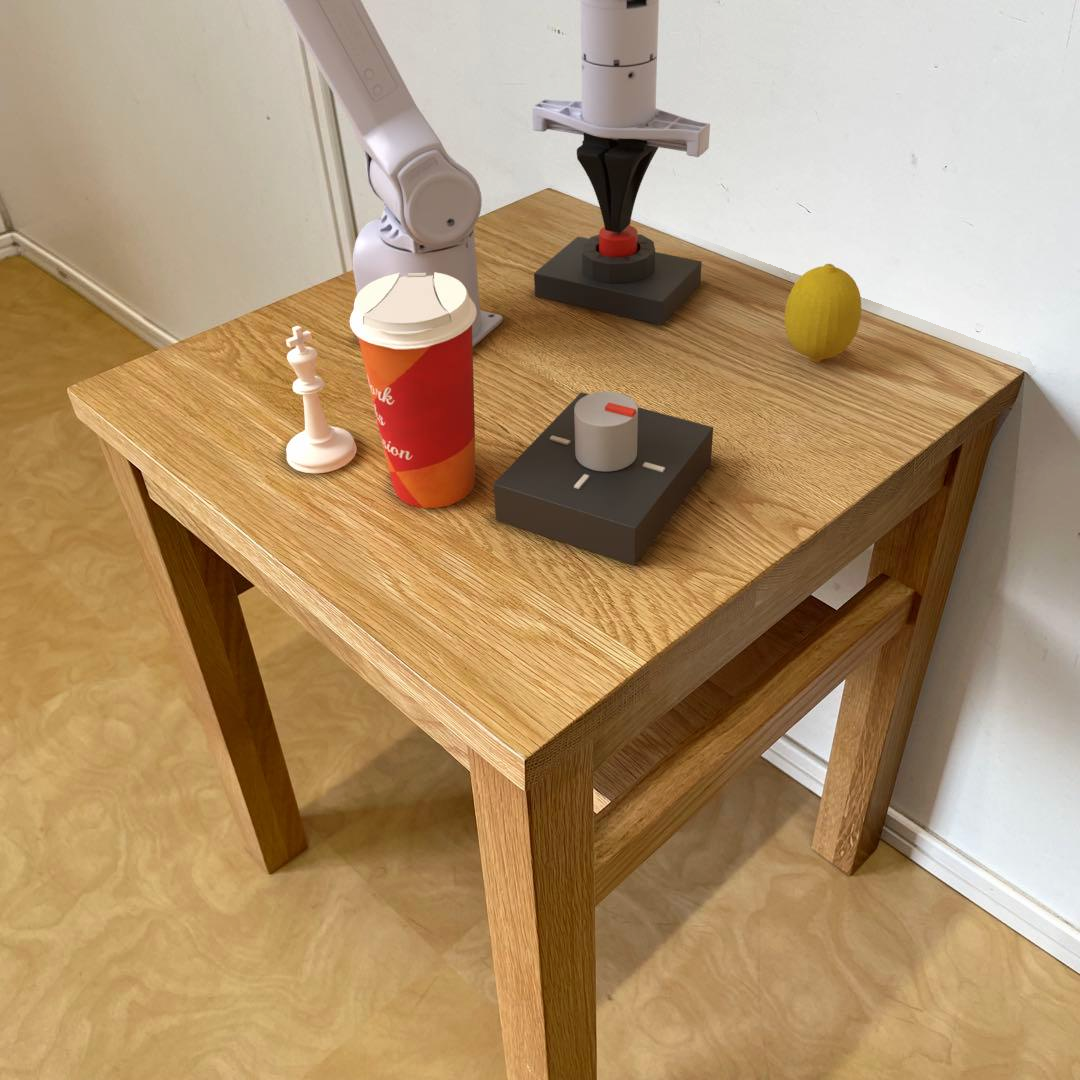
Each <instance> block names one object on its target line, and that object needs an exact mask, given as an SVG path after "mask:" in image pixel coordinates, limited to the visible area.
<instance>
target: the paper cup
mask: <svg viewBox="0 0 1080 1080" xmlns="http://www.w3.org/2000/svg"><path fill="white" fill-rule="evenodd" d="M353 303H354V304H353V310H352V312H351V313H350V317H349V325H350V329H351V331H352V332H353V333H354V334H355V336H356V337H357V336H358V338H357V340H358V343H359V348H360V352H361V356H362V360H363V364H364V368H365V369H364V370H365V374H366V378H367V382H368V387H369V390H370V396H371V399H372V403H373V408H374V409H373V410H374V413H375V417H376V422H377V425H378V431H379V434H380V439H381V444H382V447H383V451H384V456H385V461H386V465H387V468H388V473H389V476H390V480H391V484H392V488H393V490H394V493H395V495H396V496H397V497H398V499H399V500H401V501H402V502H403V503H405V504H407V505H409V506H412V507H416V508H421V509H437V508H443V507H448V506H451V505H453V504H456V503H458V502H460V501H462V500H464V499H465V498H467V496H468V495H469V494H470V493H471V492H472V491H473V489H474V487H475V483H476V425H475V424H476V423H475V421H476V420H475V386H474V385H475V383H474V352H473V351H474V349H473V348H474V346H473V344H472V324H473V322H474V320H475V318H476V315H477V313H476V306H475V304H474V303H473V301H472V300H471V298H470V297H469V295H468V292H467V289H466V288H465V287H464V285H463V284H462V283H461V282H460V281H459V280H457V279H455V278H453V277H451V276H448V275H445V274H441V273H436V272H434V279H433V275H429V276H426V273H408V276H400V273H397V274H393V275H389V276H385V277H383V278H380V279H377V280H375V281H373V282H371V283H370V284H368V285H366V286H365V287H364V288H363V289H361V291H360V292H359V293H358V295H357V294H356V297H355V298H354V302H353Z"/></svg>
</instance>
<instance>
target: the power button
mask: <svg viewBox="0 0 1080 1080" xmlns="http://www.w3.org/2000/svg"><path fill="white" fill-rule="evenodd" d="M637 234H638V229H637V228H636V227H634V226H633V225H631V224H630V225H629V226H627V227H626V228H625V229H624V230H623V231H622V232H621V233H617V232H612V231H607V230H605V226H603V227H602V228H601V229H599V231H598V235H599V253H600V254H602V255H604V256H609V257H613V258H614V257H627V256H630V255H633V254H636V253H637Z"/></svg>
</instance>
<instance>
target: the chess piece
mask: <svg viewBox="0 0 1080 1080" xmlns="http://www.w3.org/2000/svg"><path fill="white" fill-rule="evenodd" d="M291 329H292V334H293V336H291V337H289V338H286V339H285V343H286V347H288V348H290V349H291V350H290V351H288V353H287V355H286V359H287V361H288V363H289V365H290V366H291V367H292V369H293V371H294V373H295V376H297V379H295V380H294V381H293V383H292V391H293V392H294V393H295V394H297V395H300V396H302V399H303V413H304V430H302V431H301V432H299V433H297V434H296V435H294V436H293V437H292V438H291V439H290V440H289V441H288V443H287V444H286V450H285V451H286V452H285V453H286V461H287V463H288V465H289V466H290V467H291V468H293V469H294V470H295V471H297V472H301V473H304V474H305V473H306V474H324V473H325V474H326V473H330V472H333V471H336V470H339V469H341V468H342V467H344V466H346V465H348V464H349V463H350V462H351V461H353V459H354V458H355V456H356V454H357V450H358V448H357V444H356V442H355V439H354V436H353V435H352V433H350V432H349V431H348V430H346V429H344V428H341V427H338V426H332V425H329V423H328V421H327V419H326V415H325V412H324V410H323V406H322V403H321V400H320V397H319V394H318V393H319V392H320V391H322V390H323V389H324V387H325V382H324V381H323V380H324V379H322V377H320V376H318V375H316V367H317V362H318V354H319V353H318V351H317V350H316V349H315V348H314V347H311V346H307V345H306V344H305V342H307V341H310V340H312V339H313V335H312V332H311V331H309V330H305V331H303V329H302V327H301V326H299V325H295V326H293V327H291Z"/></svg>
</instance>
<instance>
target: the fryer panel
mask: <svg viewBox="0 0 1080 1080" xmlns="http://www.w3.org/2000/svg"><path fill="white" fill-rule="evenodd" d="M589 394H590V393H585V392H580V393H579V394H578V395H577V396H576V397H575V398H573V400H572V401H571V402H570V403H569V404H568V405H567V407H565V408H564V409H563V411H562V412H561V413H559V415H558V416H557V417H555V418H554V420H552V422H551V423H550V424H549V425H548V426H547V427H546V428H545V429H544V430H543V431H542V432H541V433H540V434H539V435H538V436H537V437H536V438H535V439H534V441H532V442H531V444H530V445H529V446H528V447H527V448H526V449H525V450H524V451H523V452H522V453H521V454H520V455H519V456H518V457H517V458H516V459H515V460H514V461H513V462H512V463H511V465H509V466H508V467H507V468H506V469H505V470H504V472H502V474H501V475H500V476H499V477H498V478H497V479H496V480H495V481H494V482H493V483H492V490H493V491H492V492H493V501H494V513H495V521H497V522H500V523H503V524H506V525H509V526H511V527H515V528H518V529H521V530H524V531H527V532H531V533H534V534H536V535H539V536H543V537H546V538H548V539H552V540H556V541H558V542H561V543H564V544H567V545H570V546H573V547H576V548H579V549H583V550H585V551H589V552H591V553H594V554H598V555H601V556H604V557H607V558H610V559H613V560H616V561H619V562H621V563H625V564H629V565H631V566H636V565H637V563H638V562H639V561H640V560H641V558H642V557H643V555H644V554H645V553H646V551H647V550H648V549H649V547H650V546H651V544H652V543H653V542H654V541H655V540H656V538H657V537H658V535H659V534H660V533H661V531H662V530H663V529H664V527H665V526H666V524H667V523H668V522H669V521H670V520H671V518H672V516H673V515H674V513H675V512H676V511H677V510H678V508H679V507H680V505H682V503H683V501H684V500H685V499H686V498H687V496H688V495H689V493H690V492H692V490H693V488H694V487H695V485H696V484H697V483H698V481H699V480H700V479H701V477H702V476H703V474H704V473H705V472H706V471H707V469H708V468H709V466H711V463H712V453H713V437H714V427H713V426H711V425H707V424H703V423H700V422H697V421H692V420H688V419H684V418H680V417H676V416H672V415H669V414H665V413H661V412H658V411H654V410H650V409H646V408H643V407H638V406H637V407H638V431H637V457H636V459H635V460H634V462H633V463H632V464H631V465H629V466H628V467H626V468H623V469H621V470H617V471H610V472H602V471H595V470H591V469H589V468H586V467H584V466H583V465H581V464H580V463H579V462H578V460H577V458H576V455H575V420H574V408H575V405H576V403H577V402H578V401H579V400H580V399H581V398H583V397H584V396H587V395H589Z"/></svg>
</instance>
